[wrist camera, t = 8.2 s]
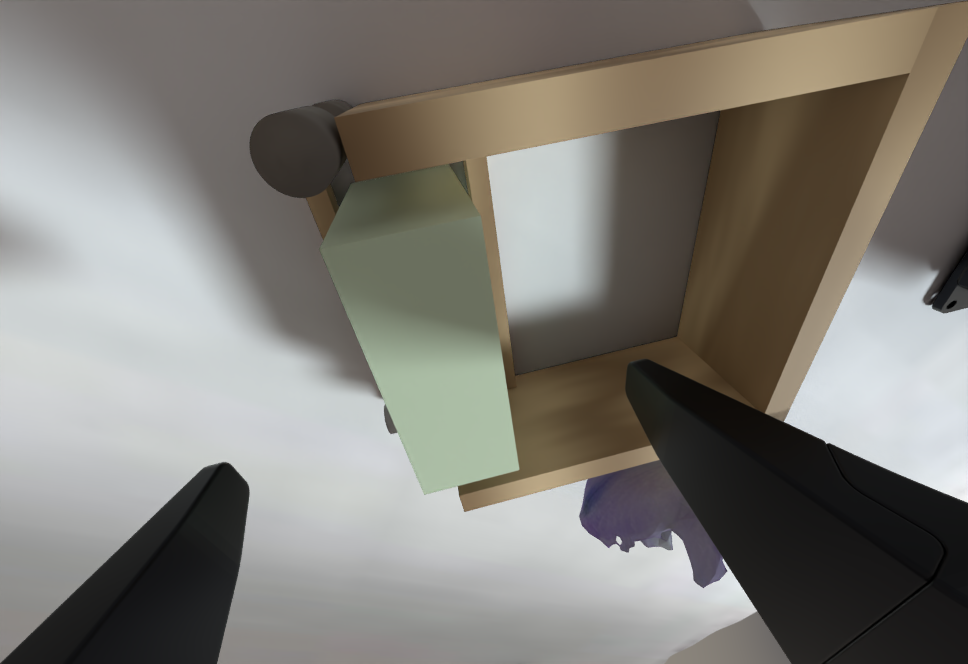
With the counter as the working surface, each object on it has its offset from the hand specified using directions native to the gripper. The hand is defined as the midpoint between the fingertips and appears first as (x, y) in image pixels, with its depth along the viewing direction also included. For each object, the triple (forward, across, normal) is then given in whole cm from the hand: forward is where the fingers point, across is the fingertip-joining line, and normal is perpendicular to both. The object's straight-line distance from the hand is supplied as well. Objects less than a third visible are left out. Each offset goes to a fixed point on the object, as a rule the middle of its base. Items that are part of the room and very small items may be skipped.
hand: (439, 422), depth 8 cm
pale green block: (+6, 0, 0) cm, 7 cm away
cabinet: (+6, -5, 0) cm, 8 cm away
